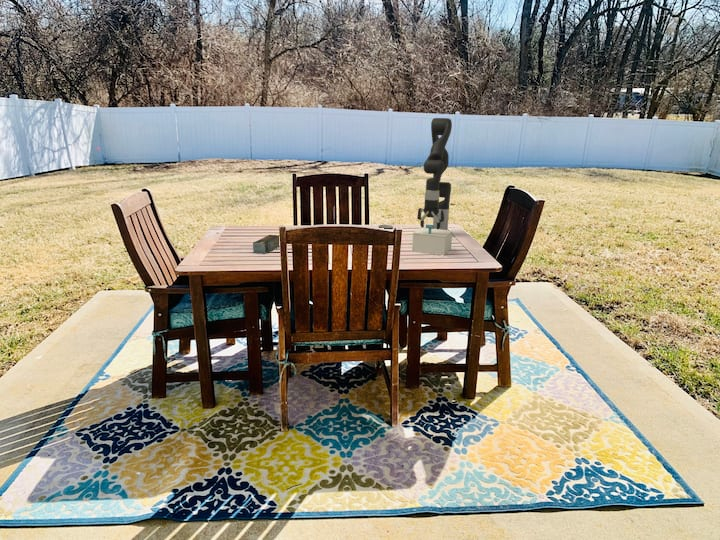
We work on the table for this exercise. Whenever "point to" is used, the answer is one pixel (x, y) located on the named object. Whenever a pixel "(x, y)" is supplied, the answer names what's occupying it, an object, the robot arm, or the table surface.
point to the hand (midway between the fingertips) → (430, 228)
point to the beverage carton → (266, 244)
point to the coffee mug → (386, 226)
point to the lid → (432, 231)
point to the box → (431, 244)
